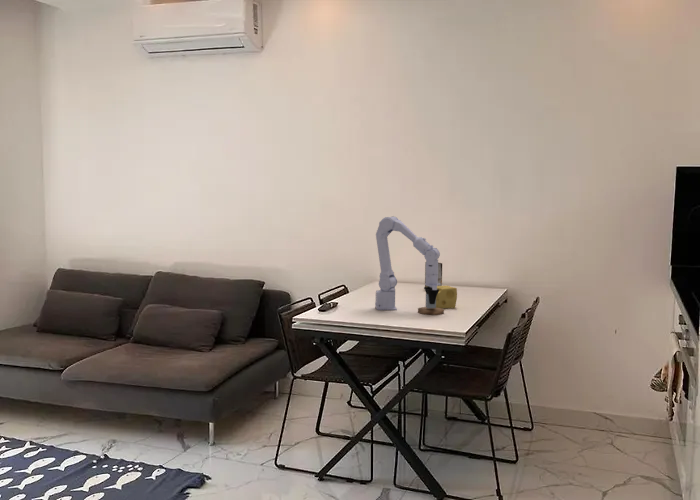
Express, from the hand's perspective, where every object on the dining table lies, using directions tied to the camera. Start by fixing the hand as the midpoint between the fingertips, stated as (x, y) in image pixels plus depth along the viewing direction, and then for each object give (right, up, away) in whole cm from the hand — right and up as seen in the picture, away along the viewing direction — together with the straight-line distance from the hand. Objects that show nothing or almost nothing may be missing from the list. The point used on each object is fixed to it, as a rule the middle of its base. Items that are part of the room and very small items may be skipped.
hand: (431, 303), depth 313 cm
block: (0, -2, 0) cm, 2 cm away
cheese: (+8, -3, +16) cm, 18 cm away
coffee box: (+9, +2, +66) cm, 67 cm away
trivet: (0, -4, 0) cm, 4 cm away
